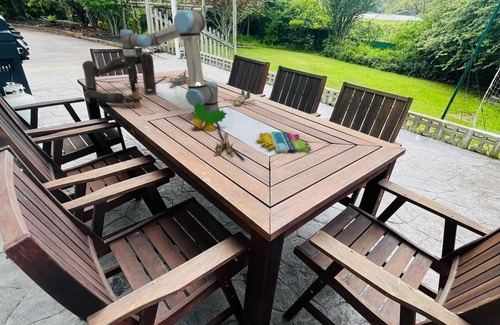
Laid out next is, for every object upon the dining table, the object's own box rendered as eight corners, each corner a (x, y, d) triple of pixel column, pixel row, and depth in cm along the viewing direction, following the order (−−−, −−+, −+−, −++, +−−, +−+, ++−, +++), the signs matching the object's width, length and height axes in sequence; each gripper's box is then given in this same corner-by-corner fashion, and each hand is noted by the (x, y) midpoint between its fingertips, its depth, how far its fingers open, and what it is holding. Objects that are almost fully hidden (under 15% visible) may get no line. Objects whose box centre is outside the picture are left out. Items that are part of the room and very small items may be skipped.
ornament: (218, 133, 171) (224, 110, 169) (221, 134, 163) (227, 111, 161) (186, 125, 162) (192, 101, 160) (189, 126, 155) (195, 101, 153)
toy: (261, 91, 228) (254, 99, 202) (261, 99, 231) (253, 108, 205) (231, 87, 233) (220, 95, 207) (230, 95, 236) (219, 104, 210)
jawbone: (234, 135, 144) (233, 125, 135) (233, 160, 138) (232, 151, 129) (217, 135, 144) (216, 125, 135) (216, 160, 138) (214, 150, 129)
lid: (140, 86, 187) (140, 83, 186) (136, 88, 182) (136, 85, 181) (132, 85, 187) (132, 83, 186) (128, 87, 182) (128, 84, 181)
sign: (313, 150, 142) (258, 149, 139) (312, 153, 143) (258, 152, 140) (301, 132, 164) (254, 130, 161) (301, 134, 165) (254, 133, 162)
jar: (142, 107, 192) (139, 86, 184) (135, 108, 188) (132, 87, 181) (139, 105, 194) (136, 84, 187) (133, 107, 191) (129, 85, 184)
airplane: (160, 80, 270) (159, 70, 265) (190, 78, 283) (189, 68, 278) (168, 89, 242) (167, 78, 236) (201, 87, 255) (201, 77, 250)
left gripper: (110, 95, 179) (136, 96, 181) (118, 90, 191) (142, 91, 193) (113, 106, 183) (138, 107, 184) (120, 100, 195) (143, 101, 197)
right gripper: (132, 58, 166) (137, 93, 177) (138, 53, 184) (143, 86, 195) (120, 57, 165) (126, 93, 176) (127, 53, 182) (132, 86, 193)
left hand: (140, 99), depth 189 cm, fingers closed on jar, 5 cm apart
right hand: (135, 89), depth 185 cm, fingers open, 8 cm apart
